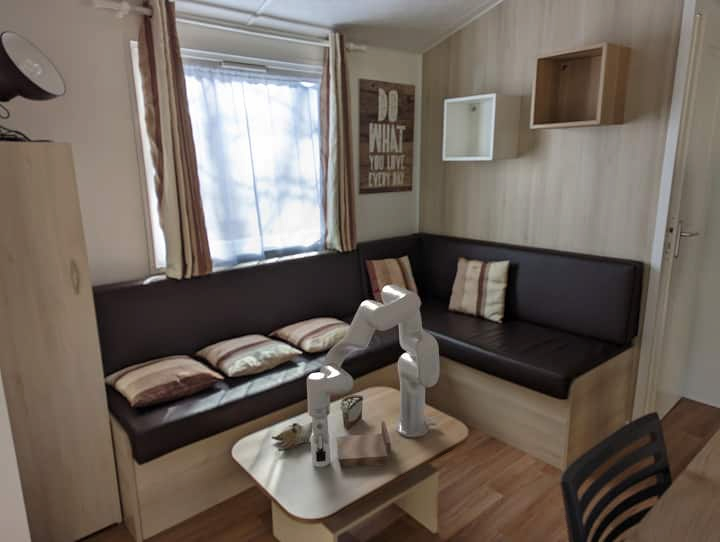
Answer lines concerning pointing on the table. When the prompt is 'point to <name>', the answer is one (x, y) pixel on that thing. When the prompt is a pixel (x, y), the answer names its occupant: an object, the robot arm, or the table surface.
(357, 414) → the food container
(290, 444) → the ceramic sculpture
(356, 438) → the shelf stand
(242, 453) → the table surface
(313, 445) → the can
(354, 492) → the table surface
